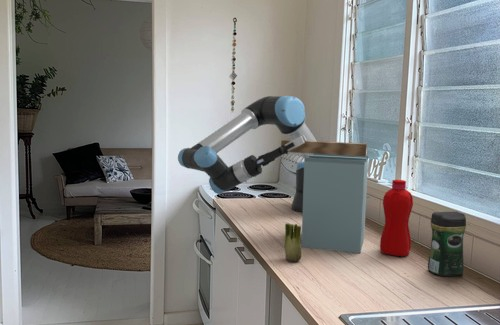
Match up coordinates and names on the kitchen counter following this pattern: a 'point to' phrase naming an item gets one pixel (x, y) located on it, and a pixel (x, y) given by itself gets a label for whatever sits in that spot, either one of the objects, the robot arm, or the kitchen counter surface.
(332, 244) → the grey-blue storage bin
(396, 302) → the kitchen counter surface
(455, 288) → the kitchen counter surface
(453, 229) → the coffee jar
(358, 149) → the walnut slat
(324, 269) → the kitchen counter surface
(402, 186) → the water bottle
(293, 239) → the fennel bulb
